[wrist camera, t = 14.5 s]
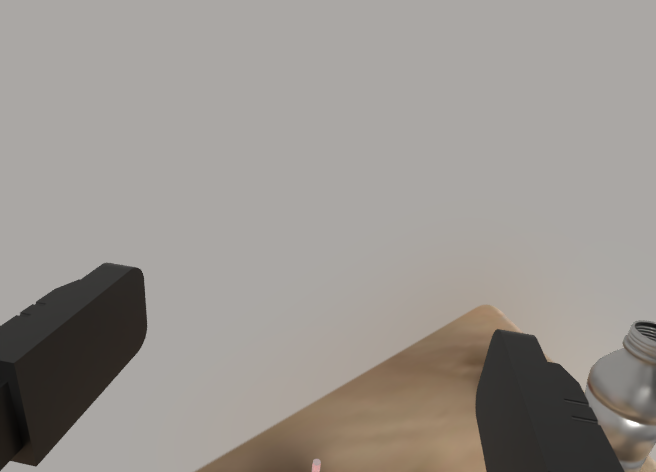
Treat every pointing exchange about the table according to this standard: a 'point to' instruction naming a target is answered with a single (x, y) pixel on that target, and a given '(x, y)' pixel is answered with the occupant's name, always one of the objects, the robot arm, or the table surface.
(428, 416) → the table surface
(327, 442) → the table surface
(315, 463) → the beverage cup
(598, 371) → the plastic bottle
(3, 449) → the robot arm
